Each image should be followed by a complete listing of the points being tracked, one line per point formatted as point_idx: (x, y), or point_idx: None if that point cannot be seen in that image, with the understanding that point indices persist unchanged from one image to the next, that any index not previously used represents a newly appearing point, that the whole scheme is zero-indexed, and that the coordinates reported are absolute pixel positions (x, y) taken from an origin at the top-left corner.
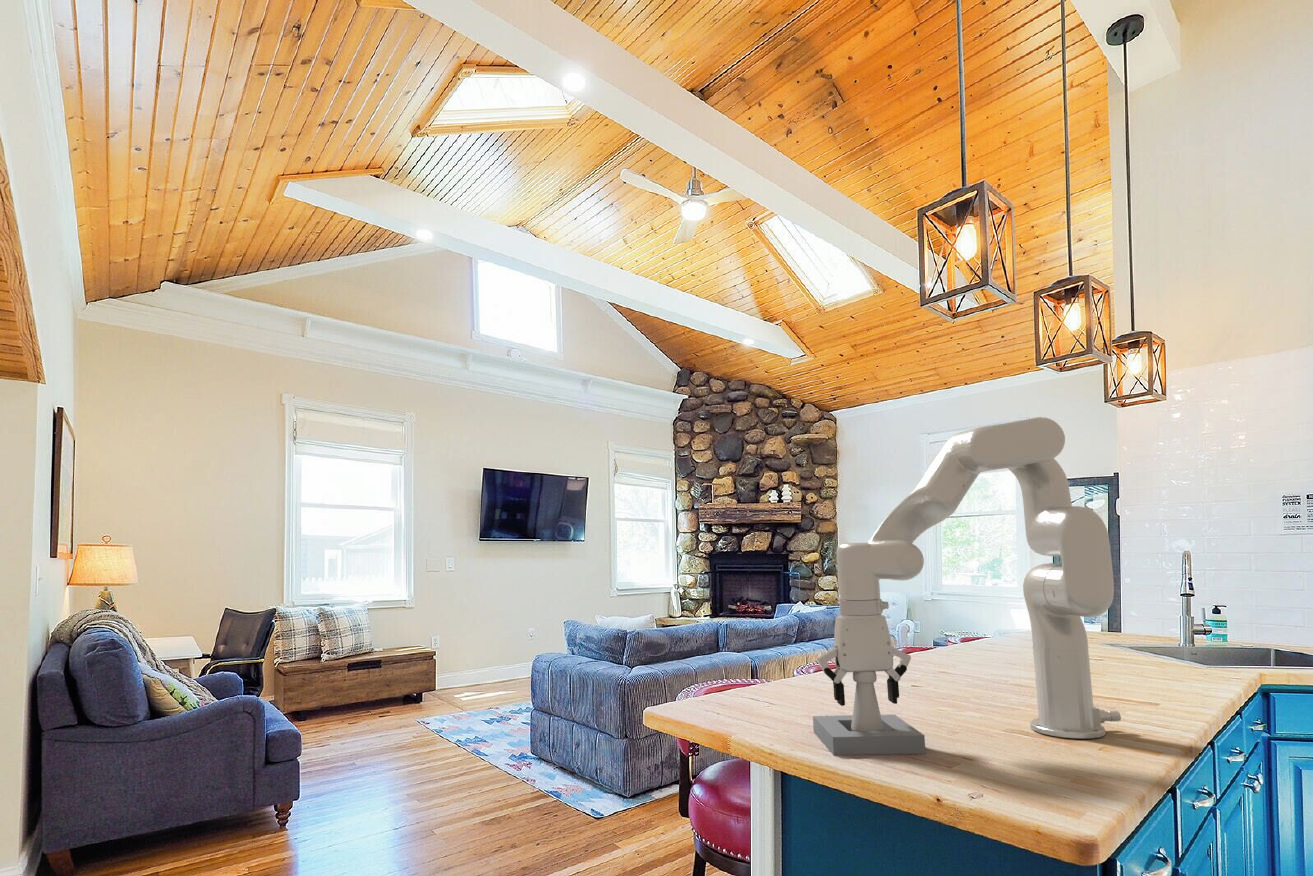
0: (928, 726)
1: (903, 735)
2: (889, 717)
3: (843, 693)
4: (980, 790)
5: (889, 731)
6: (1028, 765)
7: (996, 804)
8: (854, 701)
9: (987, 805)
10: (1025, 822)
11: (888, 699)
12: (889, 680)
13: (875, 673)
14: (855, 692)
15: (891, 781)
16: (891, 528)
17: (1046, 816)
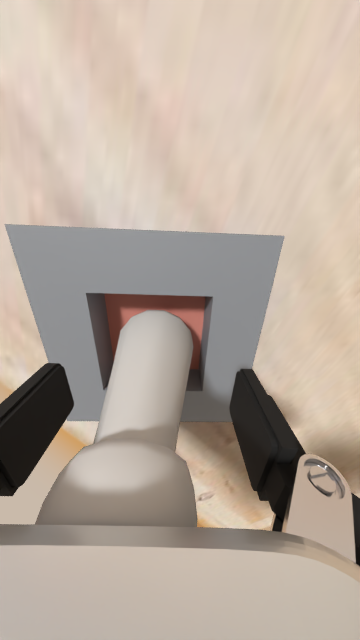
0: None
1: (201, 420)
2: (247, 276)
3: (46, 444)
4: (217, 489)
5: (186, 397)
6: (326, 441)
7: (210, 508)
8: (106, 392)
9: (202, 509)
10: (210, 526)
11: (237, 372)
12: (268, 469)
13: None
14: (99, 421)
15: None
16: None
17: (232, 521)
